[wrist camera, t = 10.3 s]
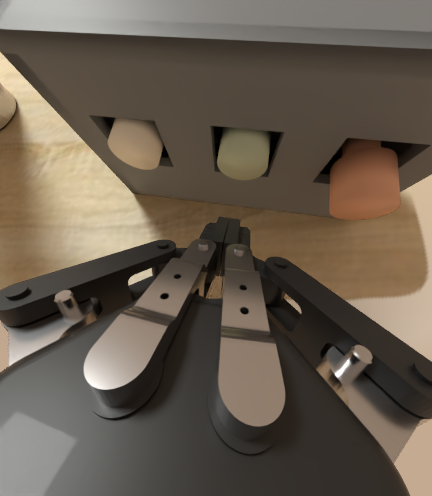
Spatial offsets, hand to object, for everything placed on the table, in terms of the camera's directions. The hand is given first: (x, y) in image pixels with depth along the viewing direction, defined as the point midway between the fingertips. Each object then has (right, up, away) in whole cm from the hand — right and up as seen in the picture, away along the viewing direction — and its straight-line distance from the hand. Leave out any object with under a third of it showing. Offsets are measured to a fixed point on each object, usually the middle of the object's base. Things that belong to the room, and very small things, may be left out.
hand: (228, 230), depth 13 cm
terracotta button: (+10, +4, +3) cm, 12 cm away
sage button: (+2, +8, +4) cm, 10 cm away
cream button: (-7, +9, +5) cm, 13 cm away
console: (+3, +9, +12) cm, 15 cm away
